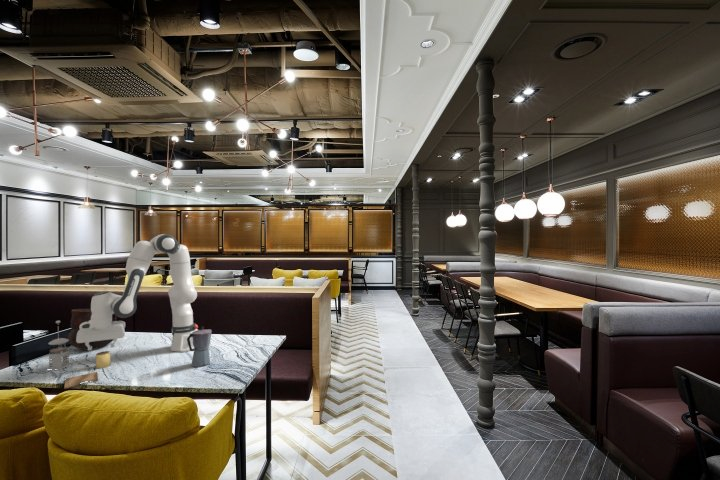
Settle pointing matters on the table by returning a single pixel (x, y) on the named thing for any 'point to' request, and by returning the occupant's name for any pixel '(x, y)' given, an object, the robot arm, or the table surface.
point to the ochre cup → (102, 359)
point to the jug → (77, 319)
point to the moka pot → (200, 346)
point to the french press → (59, 353)
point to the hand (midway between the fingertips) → (101, 348)
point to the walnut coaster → (80, 379)
